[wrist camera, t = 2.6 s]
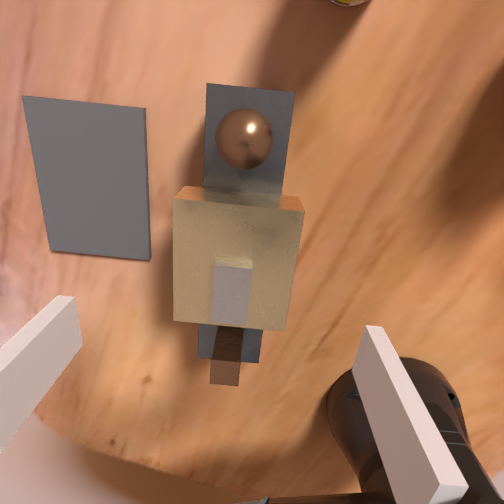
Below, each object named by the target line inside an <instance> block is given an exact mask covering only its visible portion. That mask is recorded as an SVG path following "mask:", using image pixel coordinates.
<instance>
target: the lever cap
mask: <svg viewBox="0 0 504 504" xmlns="http://www.w3.org/2000/svg"><path fill="white" fill-rule="evenodd" d="M172 206H173V321H181V322H191V323H201V324H211V325H222V326H232V327H242V328H252V329H262V330H272V331H283V332H284V331H285V325H286V319H287V313H288V307H289V301H290V295H291V290H292V284H293V278H294V272H295V266H296V260H297V254H298V249H299V243H300V237H301V231H302V225H303V219H304V213H305V211H304V209H303V206H302V204H301V201H300V199H299V197H293V196H283V195H273V194H264V193H254V192H244V191H234V190H225V189H215V188H205V187H195V186H184V187H183V188H182V189H181V190H180V191H179V192H178V193H177V194H176V195H175V196H174V197H173V198H172Z"/></svg>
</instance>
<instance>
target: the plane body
mask: <svg viewBox="0 0 504 504" xmlns="http://www.w3.org/2000/svg"><path fill="white" fill-rule="evenodd" d="M294 97H295V92H287V91H278V90H268V89H259V88H249V87H240V86H230V85H221V84H211V83H207V87H206V118H205V149H204V180H203V187H205V188H215V189H225V190H234V191H244V192H254V193H264V194H273V195H281V193H282V186H283V178H284V171H285V164H286V156H287V149H288V141H289V134H290V127H291V119H292V112H293V105H294ZM262 333H263V330H262V329H252V328H242V327H232V326H222V325H211V324H201V323H199V335H198V358H209V359H211V369H210V384H220V385H230V386H238V383H239V373H240V364H241V362H250V363H259V355H260V348H261V340H262Z"/></svg>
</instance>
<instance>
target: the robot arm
mask: <svg viewBox="0 0 504 504" xmlns="http://www.w3.org/2000/svg"><path fill="white" fill-rule="evenodd" d="M82 345H83V343H82V337H81V331H80V325H79V319H78V313H77V307H76V301H75V297H72V296H61V295H57V296H56V297H55V298H54V299H53V300H52V301H51V302H50V303H49V304H48V305H46V306H45V307H44V308H43V309H42V310H41V311H40V312H39V313H38V314H37V315H36V316H35V317H33V318H32V319H31V320H30V321H29V322H28V323H27V324H26V325H25V326H24V327H23V328H21V329H20V330H19V331H18V332H17V333H16V334H15V335H14V336H13V337H12V338H11V339H10V340H8V341H7V342H6V343H5V344H4V345H3V346H2V347H1V348H0V454H1V452H2V451H3V450H4V449H5V447H6V446H7V444H8V443H9V442H10V441H11V439H12V438H13V437H14V435H15V434H16V433H17V431H18V430H19V429H20V427H21V426H22V425H23V423H24V422H25V421H26V420H27V418H28V417H29V416H30V414H31V413H32V412H33V410H34V409H35V408H36V406H37V405H38V404H39V402H40V401H41V400H42V398H43V397H44V396H45V394H46V393H47V392H48V390H49V389H50V388H51V386H52V385H53V384H54V382H55V381H56V380H57V378H58V377H59V376H60V374H61V373H62V372H63V370H64V369H65V368H66V366H67V365H68V364H69V363H70V361H71V360H72V359H73V357H74V356H75V355H76V353H77V352H78V351H79V349H80V348H81V347H82ZM326 409H327V415H328V419H329V424H330V428H331V431H332V433H333V436H334V437H335V439H336V441H337V442H338V444H339V446H340V448H341V449H342V451H343V453H344V454H345V456H346V458H347V460H348V461H349V463H350V465H351V466H352V468H353V470H354V471H355V473H356V475H357V477H358V480H359V483H360V487H361V491H362V493H350V494H348V493H347V494H332V495H317V496H301V497H286V498H271V499H270V497H267V496H265V497H263V498H262V499H261V500H253V501H246V502H238V503H233V504H504V500H503V499H502V498H501V496H500V494H499V493H498V491H497V490H496V488H495V486H494V485H493V483H492V482H491V480H490V478H489V477H488V475H487V474H486V472H485V470H484V469H483V467H482V466H481V464H480V462H479V461H478V459H477V457H476V456H475V454H474V452H473V451H472V448H471V445H470V441H469V437H468V433H467V429H466V425H465V421H464V417H463V413H462V410H461V405H460V402H459V399H458V397H457V395H456V393H455V391H454V389H453V388H452V386H451V385H450V384H449V382H448V381H447V379H446V378H445V376H444V375H443V374H442V373H441V372H440V371H439V370H438V369H436V368H435V367H433V366H432V365H430V364H428V363H426V362H423V361H420V360H416V359H412V358H404V357H398V355H397V353H396V351H395V349H394V347H393V346H392V344H391V342H390V340H389V338H388V336H387V335H386V333H385V331H384V329H383V327H380V326H370V325H365V328H364V332H363V335H362V338H361V341H360V345H359V348H358V351H357V355H356V358H355V361H354V365H353V368H352V370H350V371H349V372H347V373H346V374H344V375H343V376H342V377H341V378H340V379H339V380H338V381H337V382H336V383H335V385H334V386H333V387H332V389H331V391H330V393H329V395H328V398H327V404H326Z"/></svg>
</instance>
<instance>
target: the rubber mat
mask: <svg viewBox="0 0 504 504" xmlns="http://www.w3.org/2000/svg"><path fill="white" fill-rule="evenodd" d="M22 100H23V105H24V111H25V116H26V122H27V127H28V133H29V138H30V143H31V149H32V154H33V160H34V165H35V171H36V176H37V182H38V187H39V193H40V198H41V203H42V209H43V214H44V220H45V225H46V231H47V236H48V242H49V247H50V250H52V251H62V252H72V253H82V254H92V255H102V256H112V257H122V258H132V259H142V260H150V259H151V236H150V210H149V185H148V159H147V134H146V109H145V108H137V107H128V106H118V105H109V104H99V103H89V102H80V101H70V100H61V99H51V98H42V97H32V96H22Z"/></svg>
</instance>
